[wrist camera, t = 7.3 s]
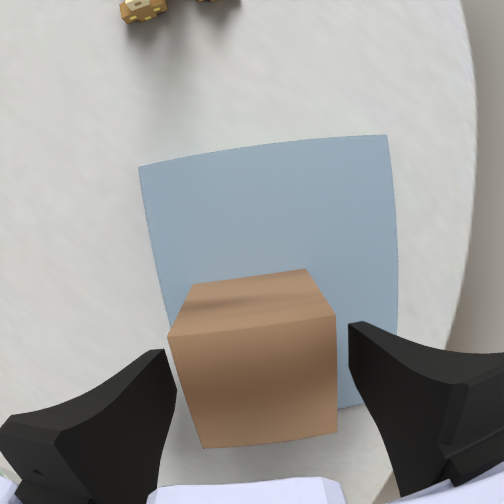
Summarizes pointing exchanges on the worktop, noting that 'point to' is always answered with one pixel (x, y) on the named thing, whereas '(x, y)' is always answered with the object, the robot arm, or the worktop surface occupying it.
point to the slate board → (282, 226)
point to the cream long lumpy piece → (142, 9)
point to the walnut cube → (257, 359)
